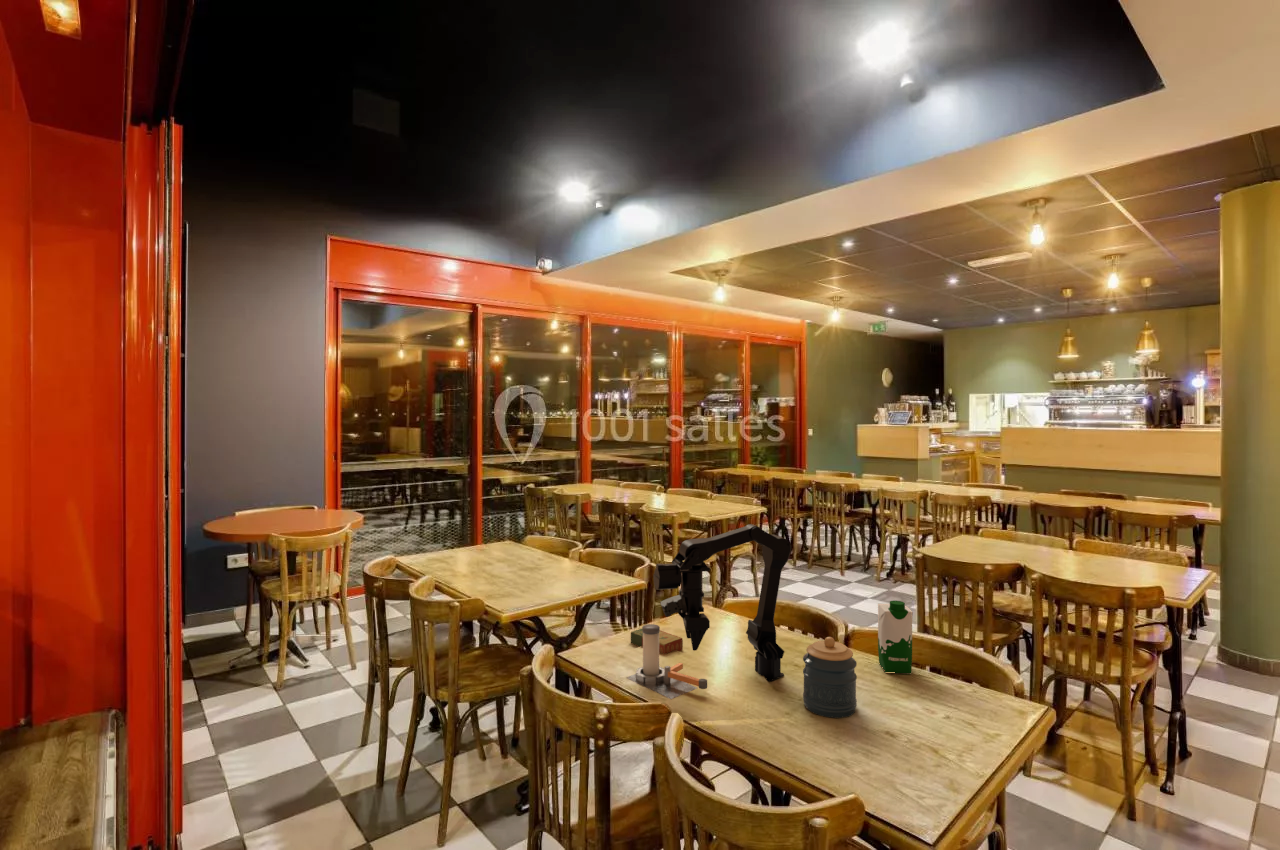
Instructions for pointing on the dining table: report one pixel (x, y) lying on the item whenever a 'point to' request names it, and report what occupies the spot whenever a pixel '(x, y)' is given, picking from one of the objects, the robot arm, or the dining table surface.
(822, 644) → the canister
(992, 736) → the dining table surface
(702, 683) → the clip
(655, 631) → the plug
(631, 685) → the dining table surface
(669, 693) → the socket plate
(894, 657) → the milk carton
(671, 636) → the carton
